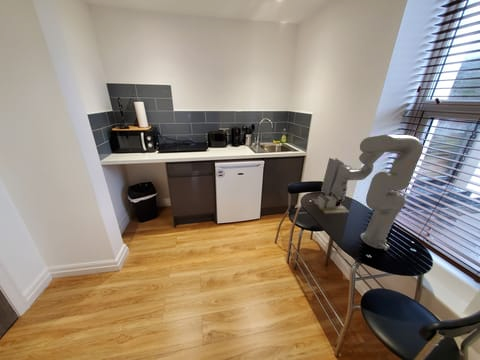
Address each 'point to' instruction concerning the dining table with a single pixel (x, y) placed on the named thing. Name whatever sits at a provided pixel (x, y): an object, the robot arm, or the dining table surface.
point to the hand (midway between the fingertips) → (334, 203)
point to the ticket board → (332, 208)
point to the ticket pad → (325, 201)
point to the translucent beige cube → (335, 201)
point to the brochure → (331, 175)
